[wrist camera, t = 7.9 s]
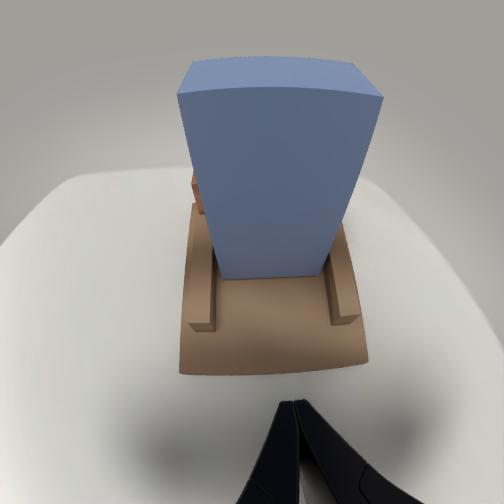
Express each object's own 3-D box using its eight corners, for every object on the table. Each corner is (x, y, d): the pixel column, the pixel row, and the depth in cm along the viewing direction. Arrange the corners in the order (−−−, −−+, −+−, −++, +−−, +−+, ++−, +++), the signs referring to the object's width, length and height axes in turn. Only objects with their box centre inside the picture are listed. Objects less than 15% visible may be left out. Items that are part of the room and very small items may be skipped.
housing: (362, 364, 15) (399, 348, 10) (183, 374, 15) (154, 363, 10) (332, 206, 21) (347, 160, 17) (195, 211, 21) (181, 164, 17)
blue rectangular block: (318, 275, 17) (384, 97, 6) (222, 279, 17) (176, 93, 6) (312, 235, 18) (352, 63, 8) (223, 238, 18) (192, 61, 8)
